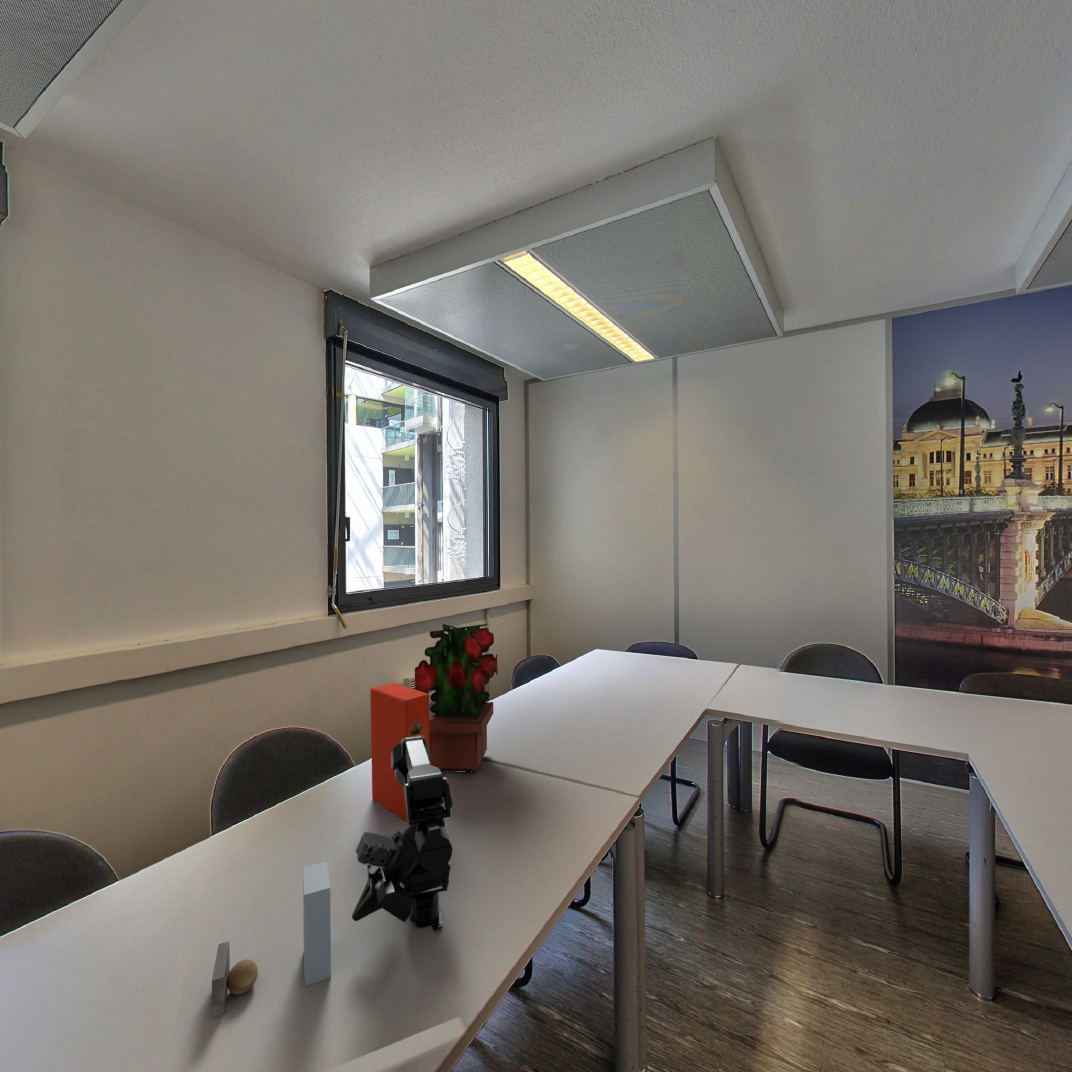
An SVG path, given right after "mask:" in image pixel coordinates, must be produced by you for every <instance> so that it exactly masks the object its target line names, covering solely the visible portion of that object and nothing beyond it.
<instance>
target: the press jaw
mask: <svg viewBox="0 0 1072 1072" xmlns="http://www.w3.org/2000/svg"><path fill="white" fill-rule="evenodd" d="M302 885H303V886H302V889H303V890H302V895H303V896H302V898H303V902H302V903H303V907H302V908H303V913H302V915H303V919H302V920H303V968H304V970H303V972H304V987H307V986H310V985H313V984H317V983H319V982H322V981H325V980H328V979H331V977H332V969H331V968H332V952H331V951H332V947H331V946H332V945H331V943H332V941H331V940H332V939H331V938H332V937H331V936H332V935H331V933H332V932H331V930H332V928H331V917H332V916H331V882H330V874H329V866H328V860H327V861H321V862H318V863H314V864H309V865H307V866H303V867H302Z"/></svg>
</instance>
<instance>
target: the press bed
mask: <svg viewBox="0 0 1072 1072" xmlns="http://www.w3.org/2000/svg"><path fill="white" fill-rule="evenodd" d="M230 957H231V956H230V940H229V941H225V942H224V941H223V942H221V943H219V944H218V945H217V950H216V957H215V962H214V967H213V972H212V980H211V1018H212V1019H215V1018H217V1017H221V1016H223V1015H225V1013H226V1005H227V996H228V991H229V989H228V987H227V978H228V975H229V973H230V971H231V969H230V966H231V965H230V961H231V960H230Z"/></svg>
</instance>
